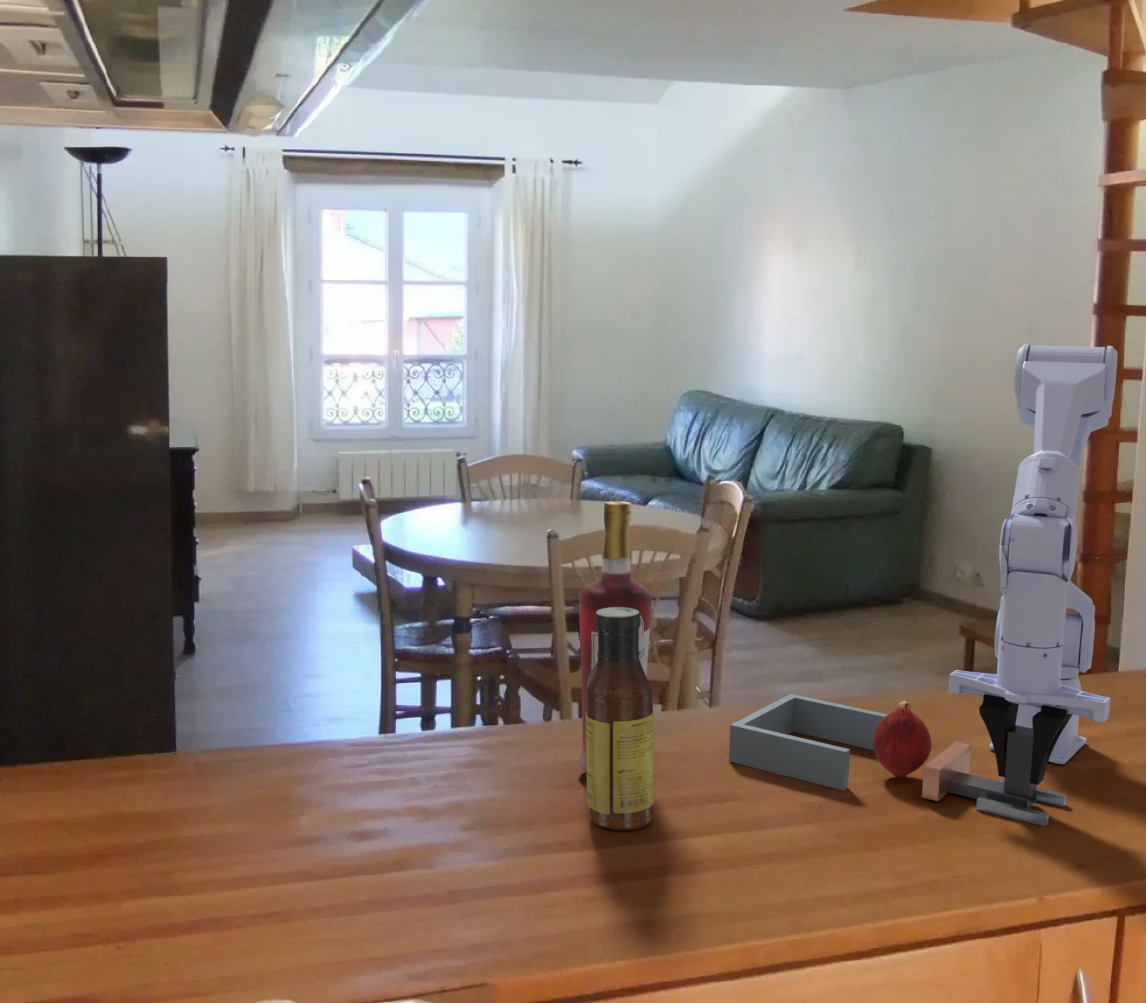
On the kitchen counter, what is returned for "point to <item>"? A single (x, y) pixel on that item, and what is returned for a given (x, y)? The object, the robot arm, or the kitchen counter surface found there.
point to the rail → (1021, 812)
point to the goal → (775, 751)
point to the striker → (954, 777)
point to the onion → (901, 741)
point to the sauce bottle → (619, 726)
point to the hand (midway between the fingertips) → (1020, 777)
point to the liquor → (611, 598)
